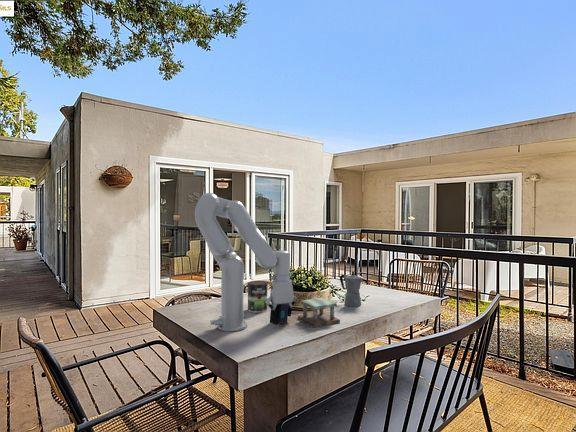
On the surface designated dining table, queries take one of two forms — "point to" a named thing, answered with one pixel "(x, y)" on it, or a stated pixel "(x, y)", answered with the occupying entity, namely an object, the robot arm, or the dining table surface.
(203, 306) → the dining table surface
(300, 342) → the dining table surface
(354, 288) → the coffeepot
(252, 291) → the coffee can
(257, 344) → the dining table surface
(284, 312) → the speaker
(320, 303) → the peg shelf stand
